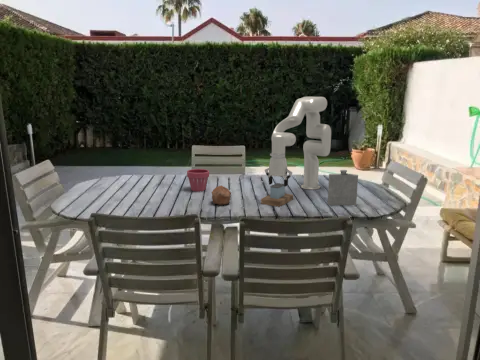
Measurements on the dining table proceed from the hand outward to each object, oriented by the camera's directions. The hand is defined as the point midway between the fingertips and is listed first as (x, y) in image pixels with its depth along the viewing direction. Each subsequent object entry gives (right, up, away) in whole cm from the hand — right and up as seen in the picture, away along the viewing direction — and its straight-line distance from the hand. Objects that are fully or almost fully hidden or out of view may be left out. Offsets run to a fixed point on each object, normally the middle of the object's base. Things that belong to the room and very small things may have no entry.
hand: (278, 185), depth 235 cm
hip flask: (+36, -11, -4) cm, 38 cm away
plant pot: (-49, -4, +28) cm, 57 cm away
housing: (0, -7, +1) cm, 7 cm away
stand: (0, -10, +2) cm, 10 cm away
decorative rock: (-33, -11, -2) cm, 35 cm away
